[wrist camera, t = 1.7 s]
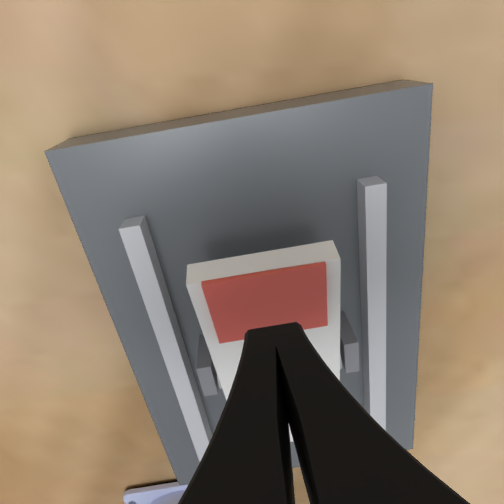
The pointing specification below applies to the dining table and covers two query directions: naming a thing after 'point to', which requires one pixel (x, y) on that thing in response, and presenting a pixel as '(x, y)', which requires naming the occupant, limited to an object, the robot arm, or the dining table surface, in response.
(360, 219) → the switch panel
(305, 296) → the rocker paddle
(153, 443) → the dining table surface
